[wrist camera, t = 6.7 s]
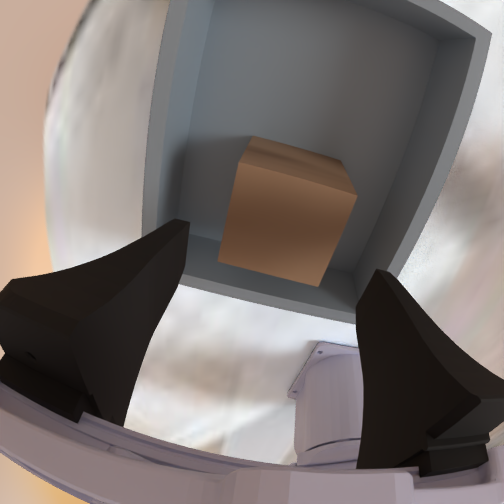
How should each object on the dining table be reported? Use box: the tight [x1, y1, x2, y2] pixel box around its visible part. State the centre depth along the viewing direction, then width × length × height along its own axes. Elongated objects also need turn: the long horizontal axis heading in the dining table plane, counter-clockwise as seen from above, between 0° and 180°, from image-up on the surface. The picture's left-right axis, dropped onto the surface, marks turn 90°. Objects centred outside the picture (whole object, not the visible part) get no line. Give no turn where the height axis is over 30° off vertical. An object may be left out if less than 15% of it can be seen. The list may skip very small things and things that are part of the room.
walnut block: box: [217, 136, 358, 287], centre depth 16 cm, size 5×5×5 cm
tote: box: [142, 0, 492, 324], centre depth 15 cm, size 18×14×5 cm
